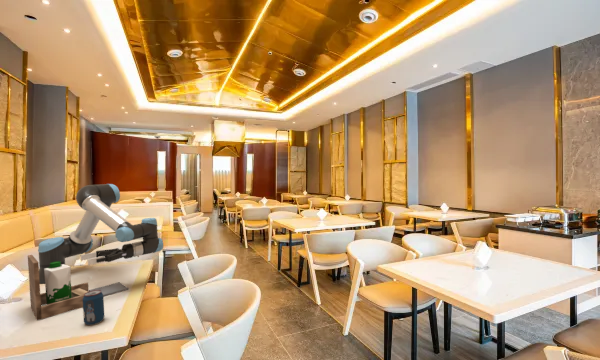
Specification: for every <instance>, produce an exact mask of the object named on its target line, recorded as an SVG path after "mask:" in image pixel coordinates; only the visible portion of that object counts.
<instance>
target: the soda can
mask: <svg viewBox="0 0 600 360" xmlns="http://www.w3.org/2000/svg"><path fill="white" fill-rule="evenodd" d="M104 301H105V300H104V297H103V293H102V292H101V290H93V291H89V292H87V293H85V294H84V297H83V307H82V314H83V315H82V316H83V322H84V324H85V325H87V326H95V325H98V324H100V323H101V322H102V321H103V320H104V318H105V304H104Z"/></svg>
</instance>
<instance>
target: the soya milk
mask: <svg viewBox="0 0 600 360" xmlns="http://www.w3.org/2000/svg"><path fill="white" fill-rule="evenodd" d="M65 264H66V263H65ZM65 264H62V265H61V261H56V262H52V263H50V267H49V268H45V269H44V273H45V283H44V286H45V293H46V301H47V304H51V303H55V302H59V301H62V300H66V299H70V298H72V291H71V286H72V279H71V278H72V277H71V273H72V272H71V269H72V268H71V266H70V265H68V264H66V265H65ZM47 304H46V305H47Z"/></svg>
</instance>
